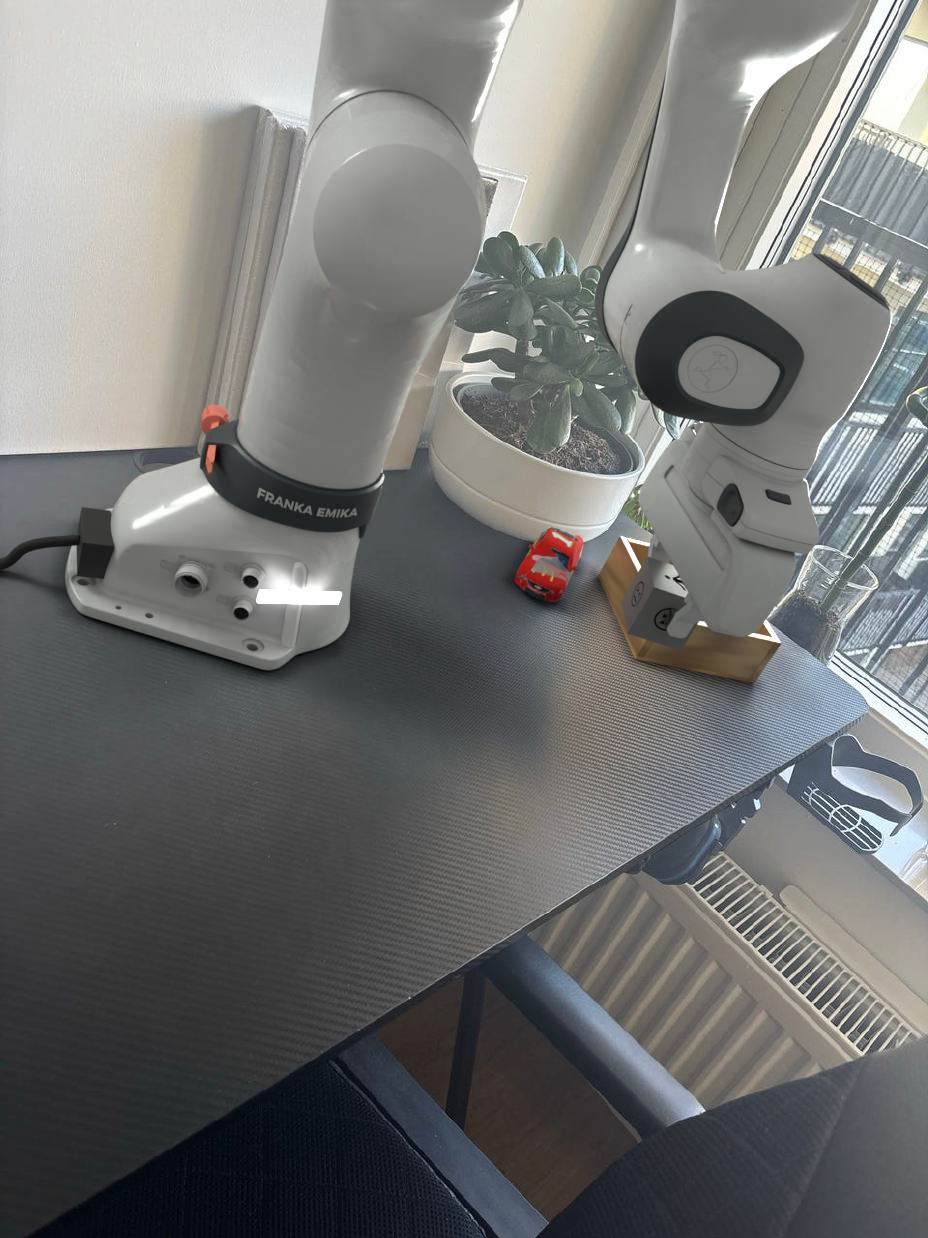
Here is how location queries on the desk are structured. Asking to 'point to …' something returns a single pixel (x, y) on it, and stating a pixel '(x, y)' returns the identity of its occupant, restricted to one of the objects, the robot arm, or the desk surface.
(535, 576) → the race car
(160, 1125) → the desk surface
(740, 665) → the crate
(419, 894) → the desk surface
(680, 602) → the dice cube
